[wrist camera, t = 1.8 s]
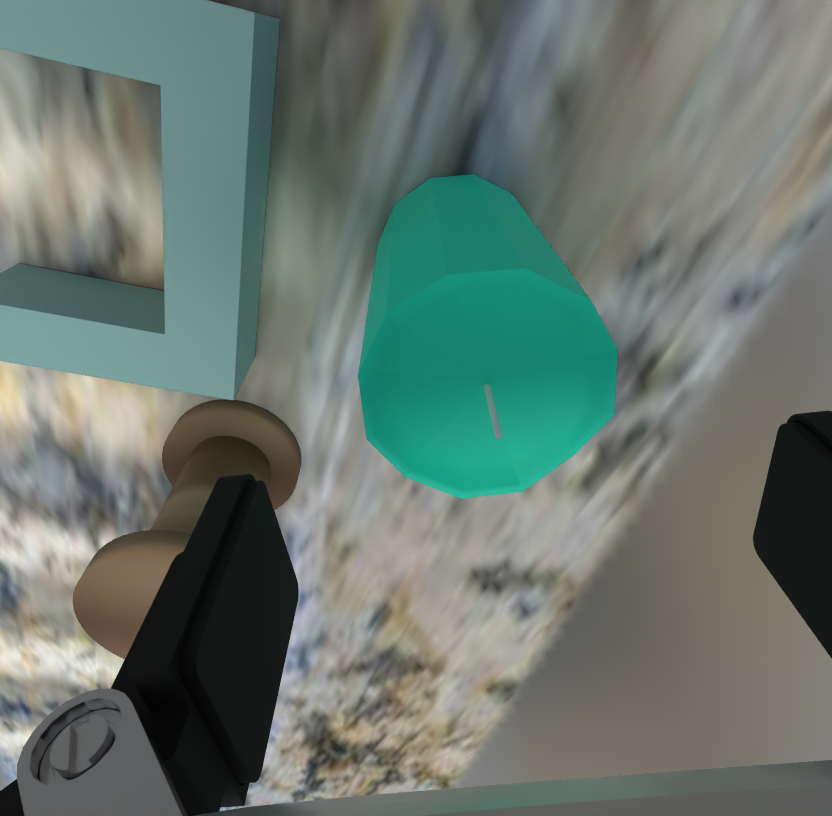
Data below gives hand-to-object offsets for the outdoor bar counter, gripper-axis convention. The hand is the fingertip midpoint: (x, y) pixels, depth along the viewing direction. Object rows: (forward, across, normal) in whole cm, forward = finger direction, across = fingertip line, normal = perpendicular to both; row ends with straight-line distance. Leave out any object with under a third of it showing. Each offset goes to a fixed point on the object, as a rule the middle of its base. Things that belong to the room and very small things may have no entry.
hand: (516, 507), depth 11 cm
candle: (+14, 0, -1) cm, 14 cm away
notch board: (+13, +11, -5) cm, 18 cm away
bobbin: (+14, +11, +7) cm, 19 cm away
